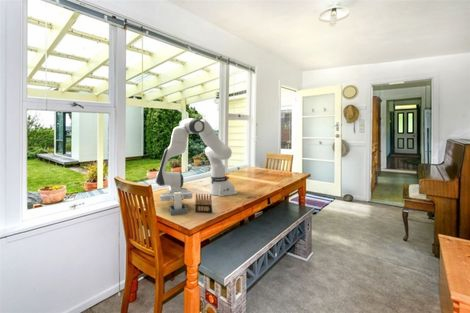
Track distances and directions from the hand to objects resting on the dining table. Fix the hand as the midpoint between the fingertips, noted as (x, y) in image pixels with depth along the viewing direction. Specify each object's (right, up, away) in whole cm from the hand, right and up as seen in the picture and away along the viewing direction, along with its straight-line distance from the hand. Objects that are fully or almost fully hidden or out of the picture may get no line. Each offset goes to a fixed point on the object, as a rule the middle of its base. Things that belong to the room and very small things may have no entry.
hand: (177, 199), depth 157 cm
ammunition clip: (+16, -8, +1) cm, 18 cm away
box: (0, -8, +2) cm, 8 cm away
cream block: (0, -6, +2) cm, 6 cm away
